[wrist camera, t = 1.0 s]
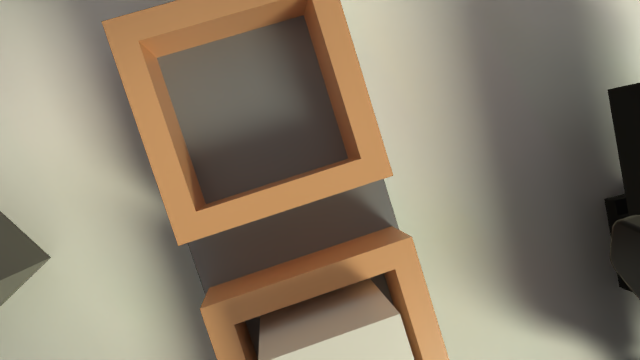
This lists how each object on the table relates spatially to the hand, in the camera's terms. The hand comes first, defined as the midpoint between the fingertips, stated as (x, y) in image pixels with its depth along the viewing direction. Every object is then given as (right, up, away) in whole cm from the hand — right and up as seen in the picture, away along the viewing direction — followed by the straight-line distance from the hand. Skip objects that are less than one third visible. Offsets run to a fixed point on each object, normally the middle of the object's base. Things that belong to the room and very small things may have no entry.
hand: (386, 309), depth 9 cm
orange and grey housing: (-2, 0, +14) cm, 15 cm away
